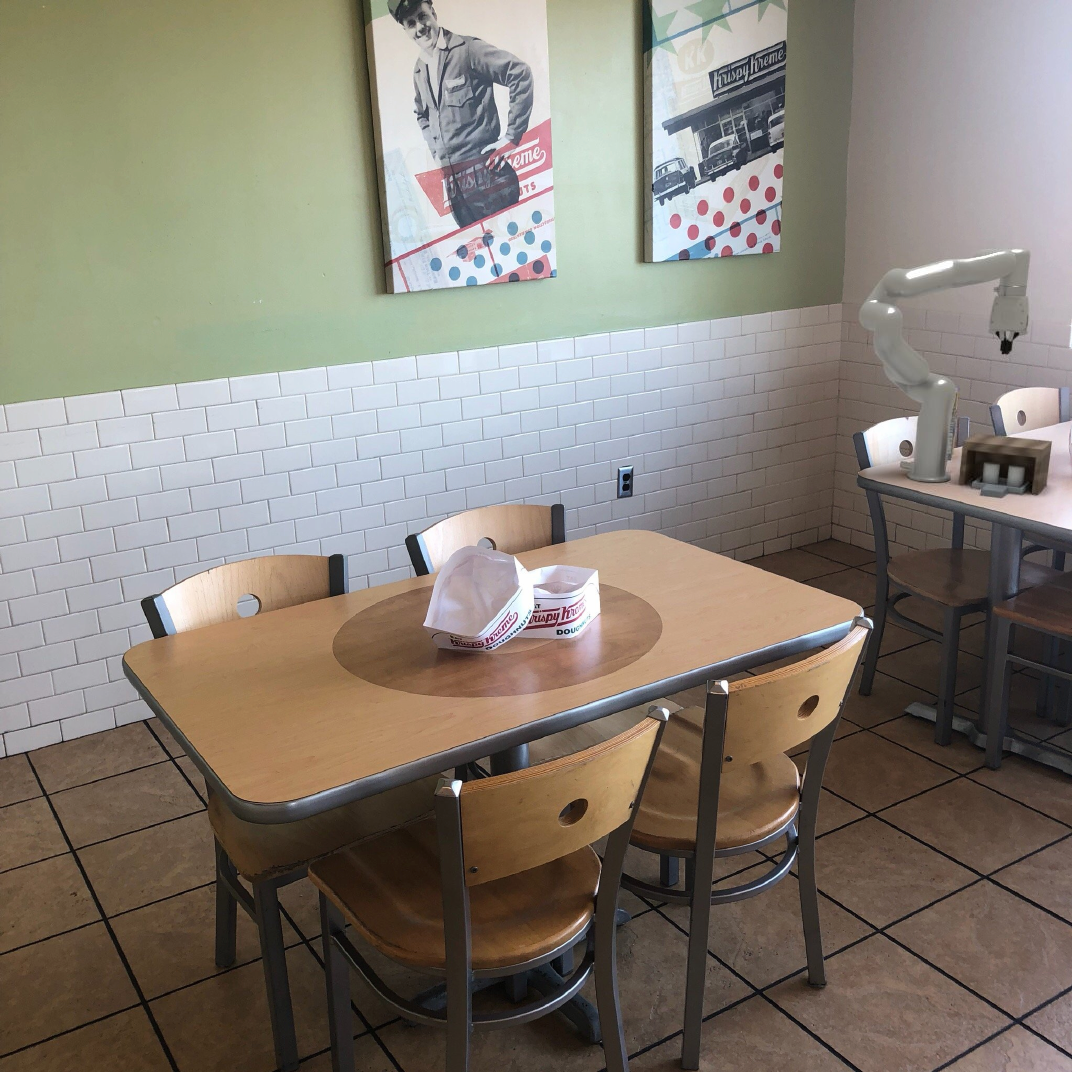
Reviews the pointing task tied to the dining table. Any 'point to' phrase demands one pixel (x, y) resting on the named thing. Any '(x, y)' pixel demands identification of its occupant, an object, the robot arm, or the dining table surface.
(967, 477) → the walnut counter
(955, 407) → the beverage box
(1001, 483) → the glasses tray
